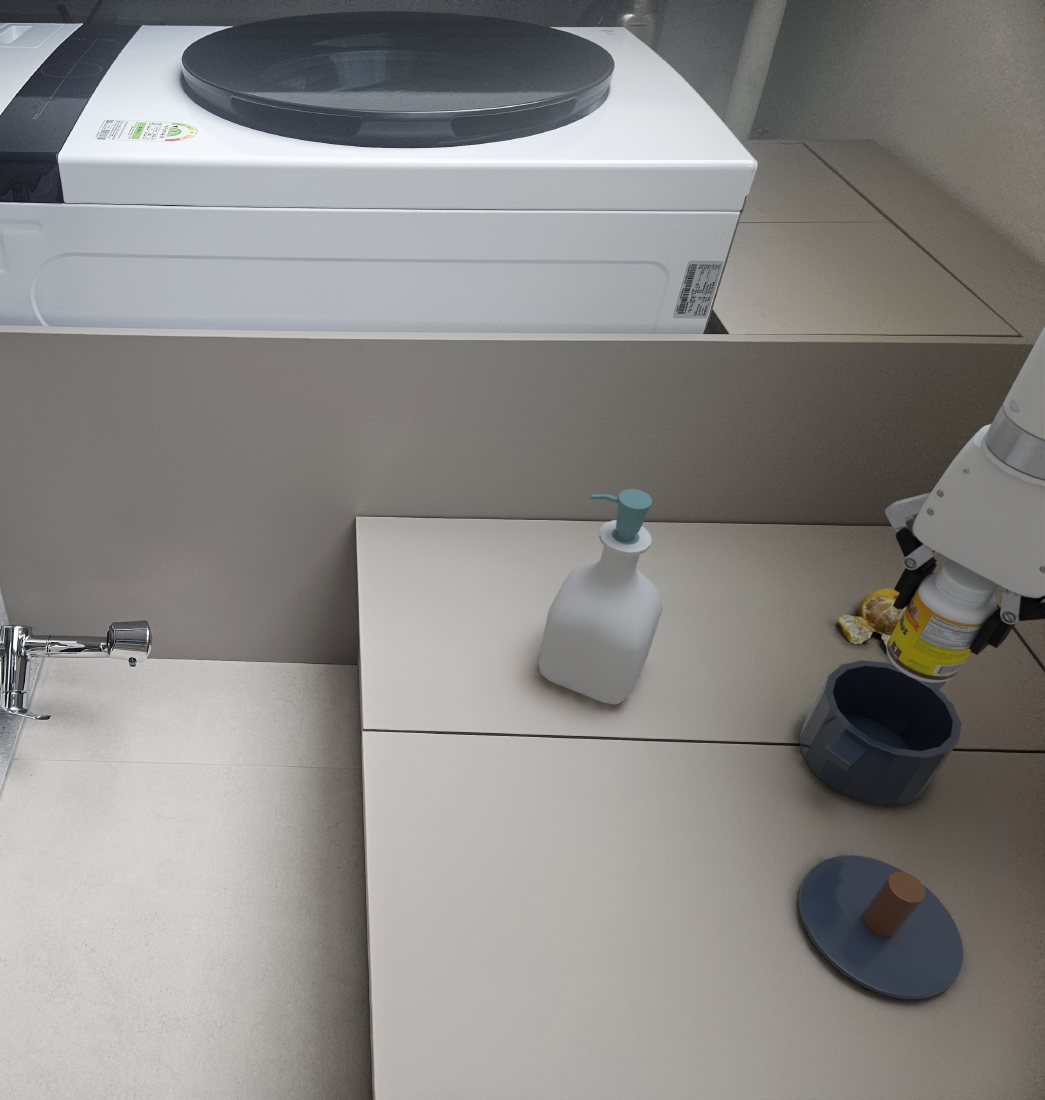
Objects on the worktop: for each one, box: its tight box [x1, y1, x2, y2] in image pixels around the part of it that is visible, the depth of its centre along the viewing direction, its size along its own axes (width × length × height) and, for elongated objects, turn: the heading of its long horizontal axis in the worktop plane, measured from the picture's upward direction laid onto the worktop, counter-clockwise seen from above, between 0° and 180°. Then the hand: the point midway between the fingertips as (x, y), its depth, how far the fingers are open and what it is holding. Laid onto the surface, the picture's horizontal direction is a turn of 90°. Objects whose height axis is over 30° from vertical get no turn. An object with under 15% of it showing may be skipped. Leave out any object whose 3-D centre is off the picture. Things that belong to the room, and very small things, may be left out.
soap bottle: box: [538, 488, 664, 705], centre depth 92 cm, size 10×10×23 cm
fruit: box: [837, 587, 907, 650], centre depth 102 cm, size 8×8×4 cm
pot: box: [799, 659, 962, 807], centre depth 88 cm, size 11×16×8 cm
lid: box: [798, 854, 964, 1000], centre depth 76 cm, size 12×12×7 cm
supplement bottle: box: [886, 559, 1000, 683], centre depth 78 cm, size 6×6×10 cm
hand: (943, 621), depth 79 cm, fingers closed on supplement bottle, 5 cm apart
